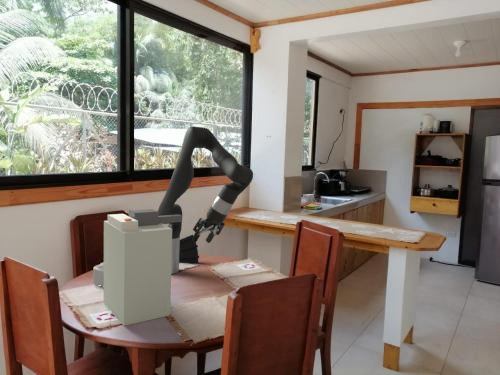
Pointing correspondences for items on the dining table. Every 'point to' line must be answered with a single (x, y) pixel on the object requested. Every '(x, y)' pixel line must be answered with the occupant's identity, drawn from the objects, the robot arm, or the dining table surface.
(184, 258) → the black ridged fan wedge
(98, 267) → the lumpy-topped squat cylinder
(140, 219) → the block
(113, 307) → the pale grey tall block
